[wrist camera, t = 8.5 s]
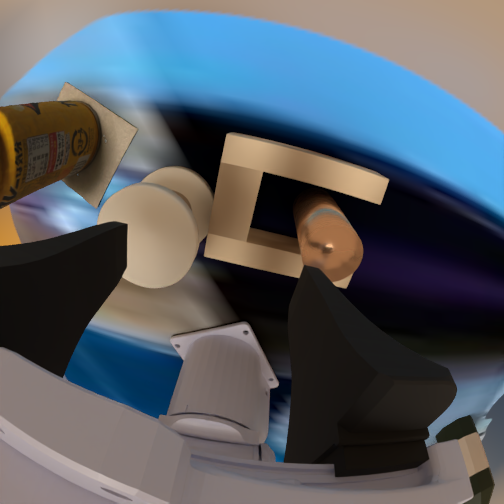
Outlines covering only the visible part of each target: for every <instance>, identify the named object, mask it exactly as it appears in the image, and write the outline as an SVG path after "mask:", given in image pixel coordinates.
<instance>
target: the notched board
mask: <svg viewBox="0 0 504 504" xmlns="http://www.w3.org/2000/svg"><path fill="white" fill-rule="evenodd" d="M263 172H267V173H271V174H275V175H279V176H283V177H287V178H291V179H295V180H299V181H303V182H306V183H310V184H314V185H317V186H321V187H324V188H328V189H331V190H335V191H338V192H341V193H345V194H348V195H351V196H354V197H358V198H361V199H364V200H367V201H370V202H373V203H376V204H379V205H380V204H381V202H382V199H383V196H384V193H385V190H386V187H387V184H388V181H389V179H387V178H385V177H384V176H382V175H381V174H379V173H377V172H375V171H372V170H370V169H367V168H364V167H361V166H358V165H355V164H352V163H349V162H346V161H343V160H340V159H337V158H333V157H330V156H327V155H323V154H320V153H317V152H313V151H310V150H306V149H302V148H299V147H295V146H291V145H287V144H283V143H279V142H275V141H271V140H267V139H263V138H258V137H254V136H249V135H245V134H240V133H235V132H231V133H228V134H227V135H226V140H225V145H224V150H223V154H222V159H221V164H220V169H219V174H218V179H217V185H216V190H215V195H214V200H213V206H212V211H211V217H210V223H209V229H208V234H207V240H206V246H205V253H204V256H205V257H209V258H213V259H218V260H222V261H226V262H231V263H235V264H239V265H243V266H248V267H252V268H257V269H261V270H265V271H270V272H274V273H279V274H283V275H287V276H292V277H296V278H299V277H300V275H301V272H302V269H303V263H302V257H301V252H300V246H299V241H298V239H296V238H292V237H288V236H284V235H280V234H275V233H271V232H267V231H263V230H259V229H254V228H250V224H251V220H252V216H253V212H254V208H255V203H256V199H257V195H258V191H259V187H260V183H261V179H262V174H263ZM352 275H353V273H352V274H351V275H350V276H348V277H347V278H345V279H343V280H340V281H336V282H332V283H333V284H334V285H335V286H337V287H342V288H347V286H348V284H349V281H350V279H351V277H352Z"/></svg>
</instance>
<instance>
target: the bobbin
mask: <svg viewBox="0 0 504 504" xmlns="http://www.w3.org/2000/svg"><path fill="white" fill-rule="evenodd" d="M213 200H214V194H213V191H212V189H211V187H210V186H209V184H208V183H207V182H206V180H205V179H204V178H203V177H202V176H201V175H199V174H198V173H196V172H195V171H193V170H191V169H189V168H186V167H181V166H168V167H163V168H161V169H158V170H156V171H155V172H153V173H151V174H149V175H148V176H147V177H145V178H144V179H143V180H142V181H141V183H136V184H132V185H129V186H127V187H125V188H123V189H122V190H120V191H118V192H116V193H115V194H113V195H112V196H111V197H110V198H109V199H108V200H107V201H106V202H105V203H104V205H103V207H102V208H101V211H100V213H99V217H98V221H97V225H99V224H102V223H106V222H111V221H117V222H122V223H126V224H128V234H127V268H126V270H125V272H124V274H123V276H122V277H123V278H125V279H126V280H128V281H130V282H132V283H134V284H136V285H139V286H143V287H148V288H162V287H167V286H170V285H172V284H174V283H176V282H178V281H179V280H180V279H182V278H183V277H184V276H185V275H186V273H187V272H188V270H189V269H190V267H191V265H192V263H193V261H194V259H195V257H196V255H197V252H198V248H199V243H200V242H201V241H202V240H203V239H204V238H205V237H206V235H207V234H208V229H209V223H210V217H211V211H212V206H213Z"/></svg>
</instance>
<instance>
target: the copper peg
mask: <svg viewBox="0 0 504 504" xmlns="http://www.w3.org/2000/svg"><path fill="white" fill-rule="evenodd" d="M293 215H294V220H295V225H296V230H297V236H298V241H299V246H300V252H301V257H302V263H303V266H304V265H307V266H311V267H316V268H319V269H320V270H321V271H322V272H323V273H324V274H325V275H326V276H327V277H328V278H329V279H330V280H331V282H336V281H340V280H343V279H345V278H347V277H348V276H350V275H351V274H352V273H353V272H354V271H355V270H356V269H357V268H358V266H359V265H360V263H361V260H362V256H363V246H362V242H361V240H360V238H359V236H358V235H357V233H356V232H355V230H354V229H353V227H352V226H351V224H350V223H349V221H348V220H347V218H346V217H345V215H344V214H343V212H342V211H341V209H340V208H339V207H338V205H337V204H336V202H335V201H334V199H333V198H332V197H331V195H330V194H329V193H328V192H326V191H324V190H322V189H319V188H310V189H306V190H304V191H303V192H301V193H300V194H299V195H298V196H297V197H296V199H295V201H294V203H293Z"/></svg>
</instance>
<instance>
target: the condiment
mask: <svg viewBox="0 0 504 504" xmlns="http://www.w3.org/2000/svg"><path fill="white" fill-rule="evenodd" d="M137 130H138V129H137V128H135V127H134V126H132V125H130V124H129V123H127V122H126V121H125V120H123V119H122V118H120V117H118V116H117V115H116V114H114V113H113V112H111V111H110V110H108V109H107V108H105V107H104V106H102V105H101V104H99V103H98V102H97V101H95V100H94V99H92V98H90V97H89V96H87V95H86V94H84V93H83V92H81V91H80V90H78V89H76V88H75V87H73V86H72V85H70V84H68V83H66V82H65V84H64V86H63V88H62V90H61V92H60V94H59V97H58V99H57V101H50V102H40V103H29V104H19V105H9V106H6V107H0V209H1V208H3V207H5V206H7V205H9V204H11V203H13V202H15V201H17V200H19V199H21V198H23V197H25V196H27V195H29V194H31V193H33V192H35V191H37V190H39V189H41V188H44V187H46V186H48V185H50V184H53V183H55V182H57V181H59V180H62V181H63V182H65V183H66V185H67V186H68V187H70V188H72V189H73V190H74V191H75V192H77V193H78V194H79V195H80V196H82V197H83V198H84V199H85V200H86V201H87V202H88V203H89V204H91V205H92V206H93V207H95V208H96V209H97V207H98V204H99V202H100V200H101V199H102V197H103V194H104V192H105V190H106V188H107V186H108V184H109V182H110V180H111V178H112V176H113V174H114V172H115V170H116V168H117V167H118V165H119V163H120V161H121V159H122V157H123V155H124V153H125V151H126V150H127V148H128V146H129V144H130V142H131V140H132V138H133V137H134V135H135V133H136V132H137ZM103 135H105V137H103ZM105 139H106V140H107V142H106V143H105ZM77 174H78V175H77Z"/></svg>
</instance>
